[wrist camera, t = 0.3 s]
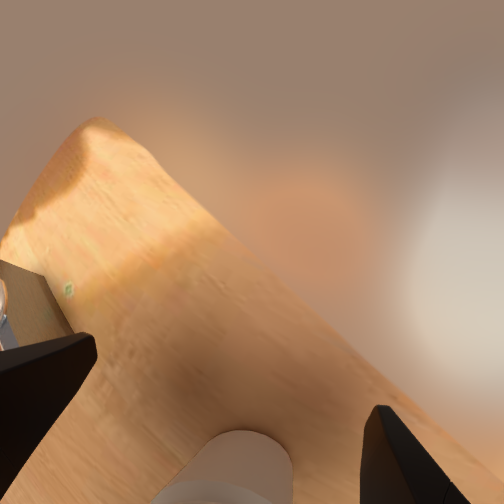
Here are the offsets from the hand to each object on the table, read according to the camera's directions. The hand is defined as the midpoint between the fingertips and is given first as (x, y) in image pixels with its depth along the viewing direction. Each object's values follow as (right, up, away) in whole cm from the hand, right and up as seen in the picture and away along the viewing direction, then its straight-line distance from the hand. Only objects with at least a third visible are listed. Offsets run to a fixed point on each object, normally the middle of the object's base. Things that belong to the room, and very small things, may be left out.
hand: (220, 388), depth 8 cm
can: (0, -13, +12) cm, 18 cm away
